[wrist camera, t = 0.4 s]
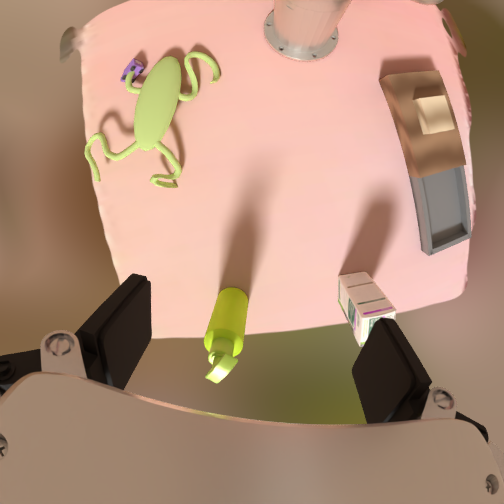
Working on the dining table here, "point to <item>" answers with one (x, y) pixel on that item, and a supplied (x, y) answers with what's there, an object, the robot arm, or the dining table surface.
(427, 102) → the tile
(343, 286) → the syrup box
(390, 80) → the board
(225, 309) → the soap dispenser
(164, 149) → the figurine
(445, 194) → the box
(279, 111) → the dining table surface
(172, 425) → the robot arm
